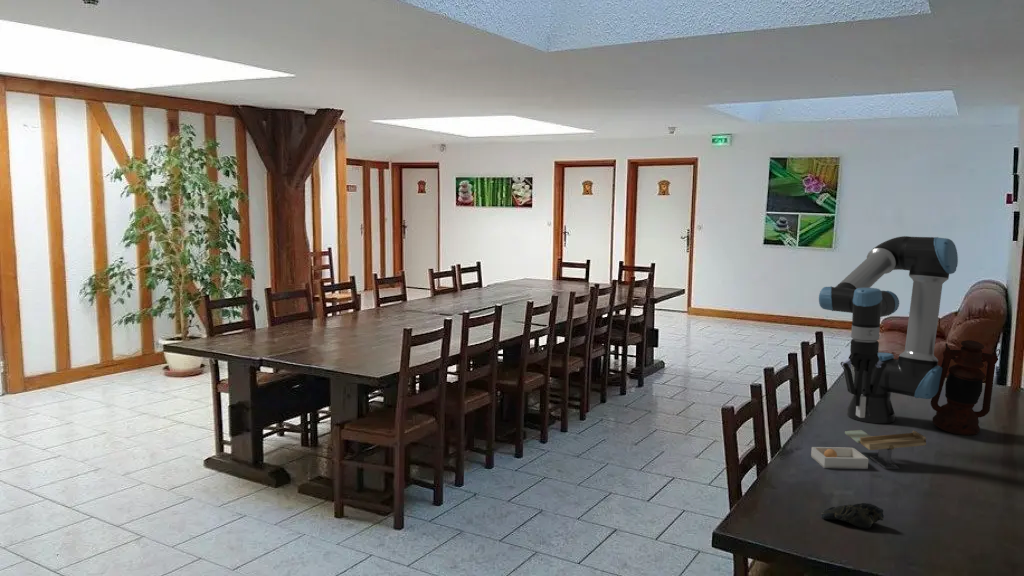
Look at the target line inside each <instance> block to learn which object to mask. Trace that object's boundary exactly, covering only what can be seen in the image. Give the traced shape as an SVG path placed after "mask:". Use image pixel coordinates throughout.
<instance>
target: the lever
mask: <svg viewBox="0 0 1024 576" xmlns="http://www.w3.org/2000/svg"><path fill="white" fill-rule="evenodd" d="M844 435H846V436H847V437H849V438H850V439H852V440H853V441H854V442H855V443H857V444H861V445H862V446H863V447H864V448H866V449H867V450H869V451H874V450H877V451H879V449H889V448H890V449H891V450H894V449H897V448H898V449H899V448H910V447H921V446H927V437H926V436H924V435H922V433H920V432H918V431H916V430H912V431H911V432H906V433H904V432H903V433H895V434H885V435H884V434H883V435H873V436H872V435H870V434H868V433H867V432H866V431H864V430H862V429H856V430H845V431H844Z"/></svg>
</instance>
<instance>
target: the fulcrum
mask: <svg viewBox="0 0 1024 576" xmlns="http://www.w3.org/2000/svg"><path fill="white" fill-rule="evenodd" d="M892 453H893V451H892V449H890V448H889V449H878V455H869V458H870V459H871V460H872V461H874V462H875V463H877V464H878V465H879V466H880V467H881V468H883V469H885V470H900V466H898V465H897V464H896V463H894V462H893V461H892Z"/></svg>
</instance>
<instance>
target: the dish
mask: <svg viewBox="0 0 1024 576" xmlns="http://www.w3.org/2000/svg"><path fill="white" fill-rule="evenodd" d="M827 449H833V450H834V451H835V452H836V453H837V457H825V456H824V452H825V451H826V450H827ZM810 457H811V458H812V459H813V460H814V461H816V462H817V464H819V465H820V466H821V467H822V468H824V469H844V470H845V469H846V470H847V469H851V470H853V469H856V470H857V469H859V470H868V469H869V458H868V457H866V456H865V455H864V454H862V452H860V451H859V450H857V449H856V448H855V447H844V446H843V447H836V446H835V447H834V446H832V447H831V446H827V447H826V446H811V452H810Z"/></svg>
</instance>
